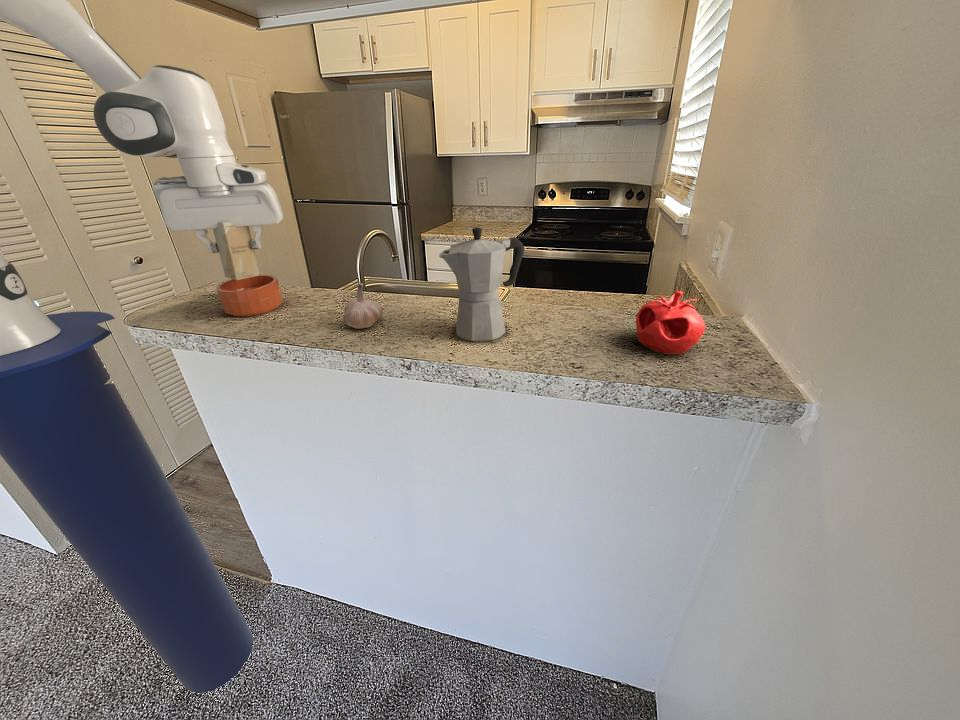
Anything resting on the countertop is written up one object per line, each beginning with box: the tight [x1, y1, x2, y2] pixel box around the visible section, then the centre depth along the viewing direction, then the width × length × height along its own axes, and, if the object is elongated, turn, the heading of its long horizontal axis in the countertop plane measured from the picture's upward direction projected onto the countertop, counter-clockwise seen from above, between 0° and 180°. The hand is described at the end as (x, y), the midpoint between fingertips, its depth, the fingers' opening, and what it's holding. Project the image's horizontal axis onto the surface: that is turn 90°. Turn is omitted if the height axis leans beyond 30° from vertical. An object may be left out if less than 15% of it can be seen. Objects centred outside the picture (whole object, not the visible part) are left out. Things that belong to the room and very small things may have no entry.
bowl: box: [215, 274, 284, 317], centre depth 85 cm, size 11×11×6 cm
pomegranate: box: [635, 290, 706, 355], centre depth 63 cm, size 10×10×9 cm
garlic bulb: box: [343, 282, 384, 330], centre depth 75 cm, size 8×7×8 cm
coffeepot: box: [438, 226, 525, 343], centre depth 68 cm, size 15×9×18 cm, turn 117°
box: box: [212, 222, 260, 280], centre depth 81 cm, size 5×4×11 cm
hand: (237, 250), depth 81 cm, fingers closed on box, 6 cm apart
